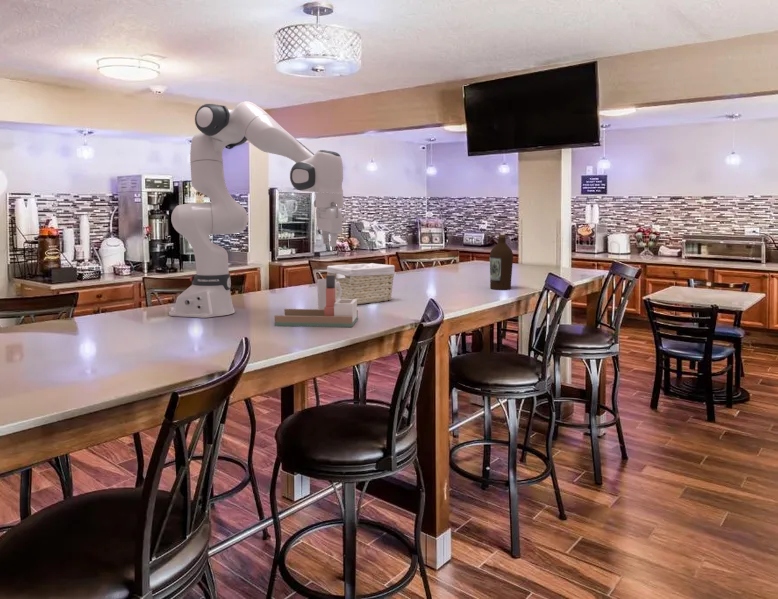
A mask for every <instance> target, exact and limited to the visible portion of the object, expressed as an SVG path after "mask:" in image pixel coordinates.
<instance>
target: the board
mask: <svg viewBox="0 0 778 599" xmlns="http://www.w3.org/2000/svg"><path fill="white" fill-rule="evenodd" d="M358 312H359V311H358V304H357V299H339V300H337V301H336V302H335V303H334V316H324V309H318V308H316V309H312V308H310V309H309V308H307V309H306V308H285V309H284V311H283V313H284V315H278V314H277V315H274V327H312V328H313V327H314V328H315V327H318V328H320V327H322V328H353V327H354V325H355V323H356V322H357V321H358V319H359V316H358V315H359V313H358Z"/></svg>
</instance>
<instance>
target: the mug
mask: <svg viewBox="0 0 778 599" xmlns="http://www.w3.org/2000/svg"><path fill="white" fill-rule="evenodd" d="M316 281H317V282H316V284H317V288H316V289H317V309H324V308H325V307H326V278H319V279H317V280H316ZM336 286H337V287H338V290H339V295H338V298H337V299H336ZM341 294H342V290H341V286H340V283H339V282H336V279H335V302H336V301H337V300H339V299H341Z"/></svg>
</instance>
